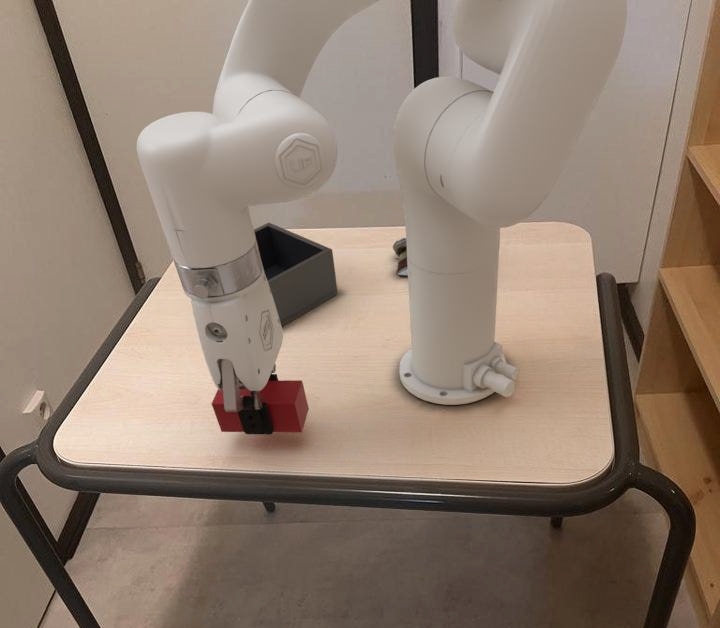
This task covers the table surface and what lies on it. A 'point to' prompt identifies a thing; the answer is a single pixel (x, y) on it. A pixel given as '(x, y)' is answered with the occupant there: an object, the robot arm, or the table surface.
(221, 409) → the red rectangular brick
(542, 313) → the table surface
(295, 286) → the grey storage bin
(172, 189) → the robot arm
